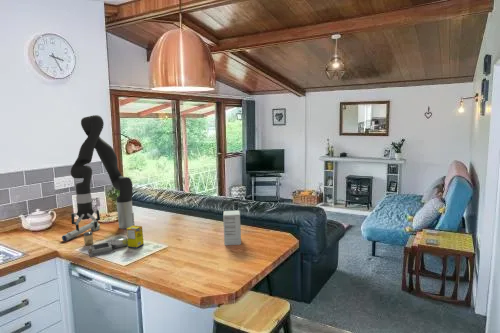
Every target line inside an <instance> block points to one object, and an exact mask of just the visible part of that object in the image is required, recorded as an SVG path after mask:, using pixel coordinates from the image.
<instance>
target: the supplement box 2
mask: <svg viewBox="0 0 500 333" xmlns="http://www.w3.org/2000/svg"><path fill="white" fill-rule="evenodd" d="M222 217H223V218H222V220H223V221H222V223H223V242H224V244H223V245H224V246H235V245H237V246H238V245H242V231H241V230H242V229H241V212H240V210H224V211H223V215H222Z"/></svg>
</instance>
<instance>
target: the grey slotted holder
mask: <svg viewBox="0 0 500 333" xmlns="http://www.w3.org/2000/svg"><path fill="white" fill-rule="evenodd" d="M123 247H128V240H127V237H124V238H123V237H122V238H118V239H113V240H110V241H106V242H101V243H96V244H95V243H94V244H93V245H91V246H90V247H89V248H88V249H87V250H88V253H89V257H90V258H92V257H97V255H98V256H102V254H103V255H107V254H112V253H115V252H116V250H115V249H118V248H123ZM111 252H112V253H111Z"/></svg>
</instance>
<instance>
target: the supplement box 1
mask: <svg viewBox="0 0 500 333" xmlns="http://www.w3.org/2000/svg"><path fill="white" fill-rule="evenodd" d="M126 238H127V240H128V246H127V247H128V248H129V249H139V248H140V247H142V246H144V245H145V244H144V234H143V226H142V225H135V224H134V225H133V226H131V227H129V228H126Z"/></svg>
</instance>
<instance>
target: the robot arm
mask: <svg viewBox="0 0 500 333" xmlns="http://www.w3.org/2000/svg"><path fill="white" fill-rule="evenodd" d="M80 126H81V128H82V131H84V134H85V135H86V136H87V137H86V138H85V140H84V142H82V143H81V146H80V148H79V152H78V155H77V157H76V160H75V161H74V162H73V164H72V166H71V169H70V175H71V177H72V178H73V179H82V181H81V182H80V181H79V182H78V183H76V184H75V193H76V202H75V203H76V210H77V211H76V212H71V224H72V225H74V226H75V230H78V231H79V228H80V226H79V223H80V222H81V221H82V220H83V221H85V220H89V219H91V220H92V221H94V228H96V227H97V222H98V221H101V216H100V211H99V209H95V210H93V199H92V194H91V182H92V176H93V168H92V167H91V166H90V165H88V164H90V163H91V162H92V159H93V155H94V152H95V151H96V153H97V155H98V157H99V159H100V161H101V163H102V165H103V167H104V169H105V171H106V172H107V174H108V177H109V179H110V182H111V184H112V187H113V188H114V189H115V190H117V191H119V195H118V196H117V197H116V209H117V220H118V228H119V229H121V230H122V229H126V230H127V228H129V227H131V226H133V225H135V213H134V210H133V195H134V194H133V192H134V191H133V181H132V179H131V178H130V177H128V176H123V175H122V174H121V172H120V170H119V168H118V167H119V166H118V156H117V154H116V152H115V150H114V149H113V147H112V145H110V144H109V143H108V142H107V141H105V140H104V139H102V138H101V136H100V135H101V133H102V132H103V129H104V119H103V118H102V117H101V115H98V114H94V115H90V116H85V117H82V118H81V120H80ZM94 214H95V215H96V217H94ZM76 216H77V217H78V218H77V220H76V221H75V218H76Z"/></svg>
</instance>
